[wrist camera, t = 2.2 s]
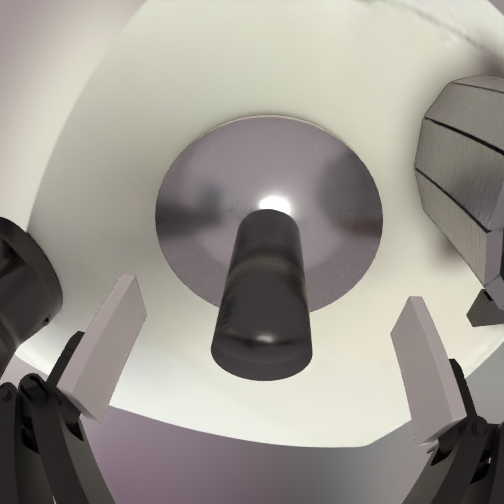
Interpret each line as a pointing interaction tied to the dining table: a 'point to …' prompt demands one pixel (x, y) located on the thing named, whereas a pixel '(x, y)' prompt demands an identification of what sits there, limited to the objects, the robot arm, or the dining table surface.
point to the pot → (468, 182)
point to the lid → (268, 235)
